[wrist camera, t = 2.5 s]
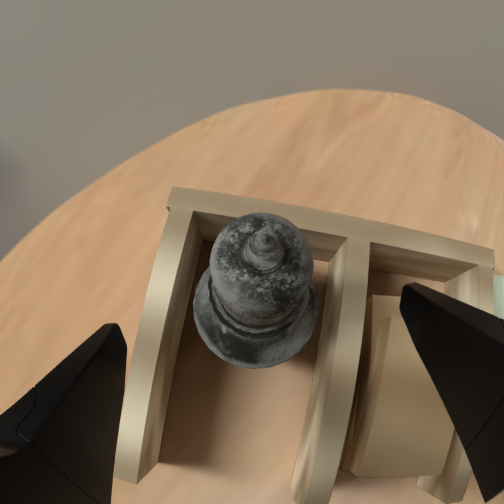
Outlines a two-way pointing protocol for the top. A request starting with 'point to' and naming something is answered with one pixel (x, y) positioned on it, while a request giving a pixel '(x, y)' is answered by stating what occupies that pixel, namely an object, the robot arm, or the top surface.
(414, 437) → the offcut stack
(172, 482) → the top surface
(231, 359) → the grey rounded tall piece
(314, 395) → the birch rack
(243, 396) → the top surface
